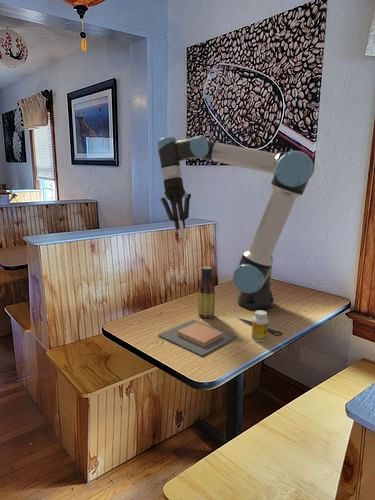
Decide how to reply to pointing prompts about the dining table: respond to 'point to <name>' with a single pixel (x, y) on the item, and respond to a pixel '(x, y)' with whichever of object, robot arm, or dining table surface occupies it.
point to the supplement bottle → (260, 326)
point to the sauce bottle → (206, 294)
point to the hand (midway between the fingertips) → (182, 237)
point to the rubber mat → (193, 347)
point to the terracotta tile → (200, 334)
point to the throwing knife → (268, 328)
